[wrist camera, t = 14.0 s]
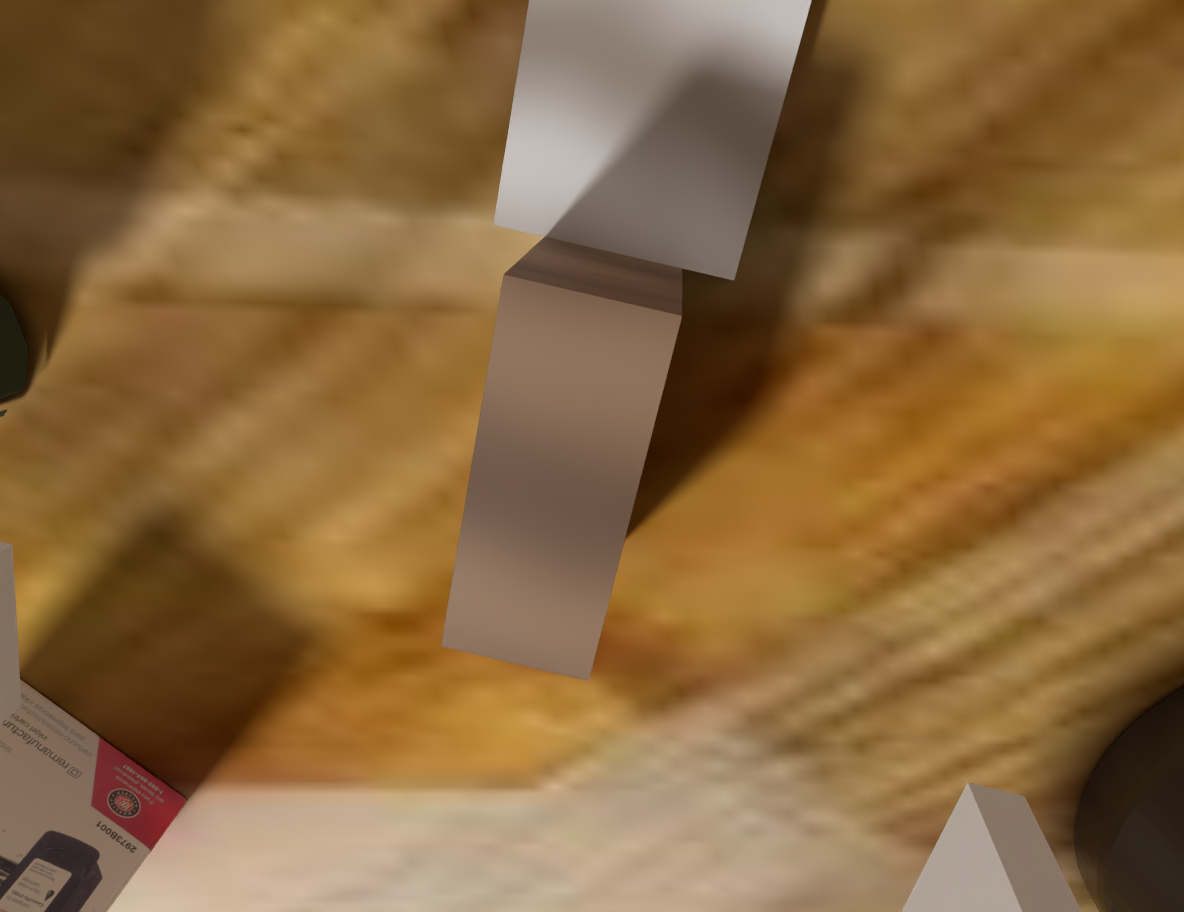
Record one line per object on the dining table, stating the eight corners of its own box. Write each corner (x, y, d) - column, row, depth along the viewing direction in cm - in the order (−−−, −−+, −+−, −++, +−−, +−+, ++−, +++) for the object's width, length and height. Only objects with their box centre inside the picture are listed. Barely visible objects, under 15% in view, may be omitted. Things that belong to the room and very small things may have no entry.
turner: (652, 563, 29) (643, 693, 22) (452, 516, 29) (385, 632, 22) (816, -32, 22) (872, -92, 15) (551, -92, 22) (496, -176, 15)
